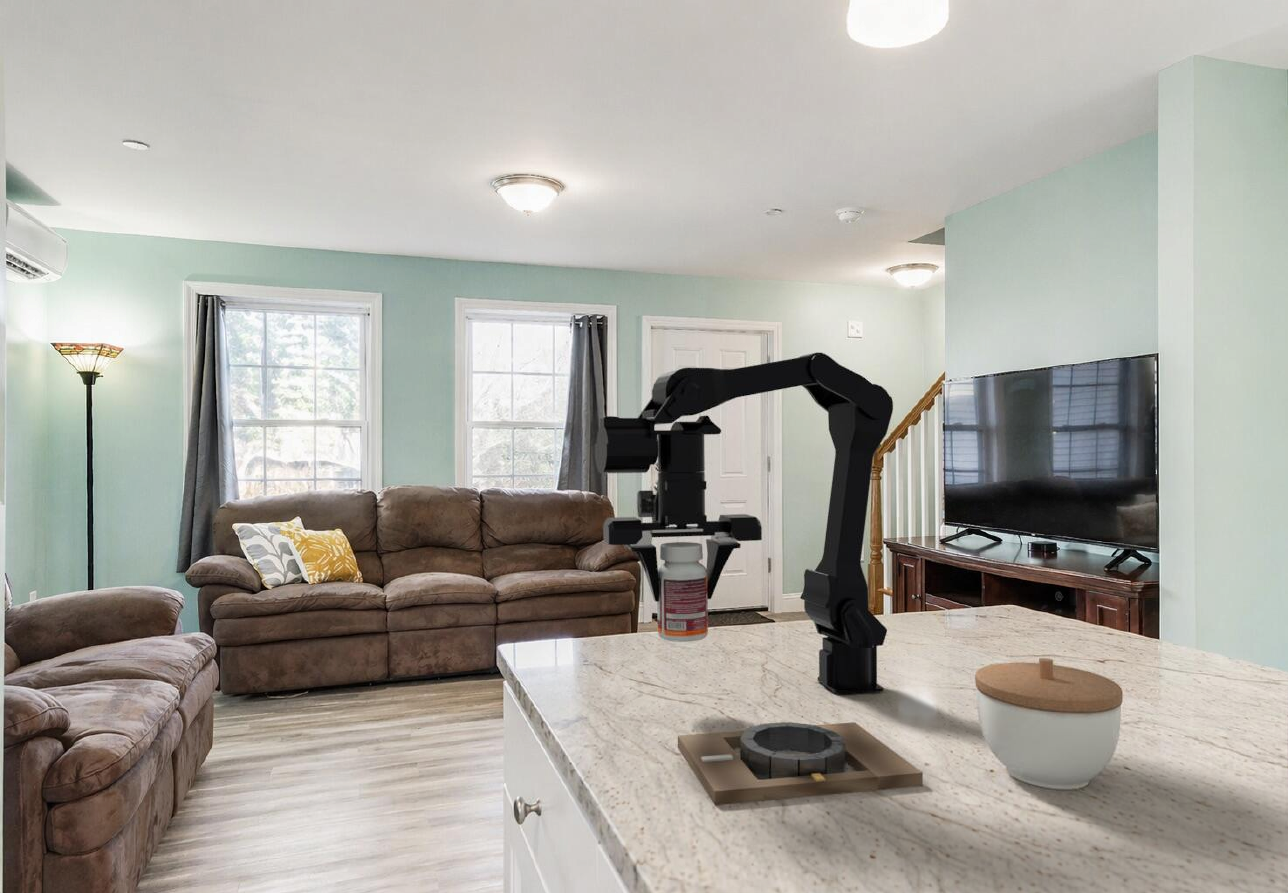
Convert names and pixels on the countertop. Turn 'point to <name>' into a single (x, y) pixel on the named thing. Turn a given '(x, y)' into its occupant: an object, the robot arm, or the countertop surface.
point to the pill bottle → (682, 593)
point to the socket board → (793, 762)
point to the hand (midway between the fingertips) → (682, 599)
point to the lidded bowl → (1049, 721)
